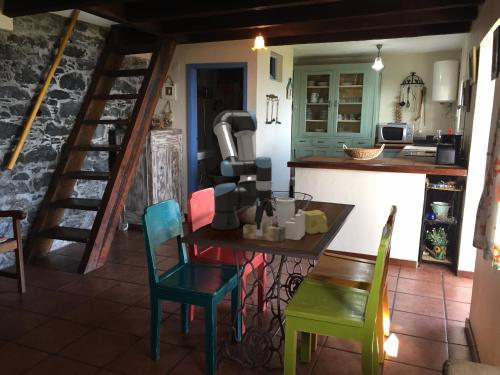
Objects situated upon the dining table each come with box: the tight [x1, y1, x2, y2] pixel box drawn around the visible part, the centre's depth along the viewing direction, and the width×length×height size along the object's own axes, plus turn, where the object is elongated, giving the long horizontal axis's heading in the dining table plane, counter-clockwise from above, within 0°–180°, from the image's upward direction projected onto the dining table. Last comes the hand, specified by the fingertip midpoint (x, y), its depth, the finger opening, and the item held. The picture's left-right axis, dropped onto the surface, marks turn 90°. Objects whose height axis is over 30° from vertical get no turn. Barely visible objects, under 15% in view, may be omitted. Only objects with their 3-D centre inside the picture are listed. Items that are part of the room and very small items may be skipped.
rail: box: [242, 223, 286, 243], centre depth 204 cm, size 20×4×6 cm, turn 68°
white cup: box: [275, 197, 296, 228], centre depth 229 cm, size 11×10×15 cm
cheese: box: [305, 209, 328, 235], centre depth 218 cm, size 10×11×10 cm
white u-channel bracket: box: [284, 209, 306, 241], centre depth 207 cm, size 7×11×14 cm, turn 158°
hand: (264, 232), depth 204 cm, fingers open, 13 cm apart
